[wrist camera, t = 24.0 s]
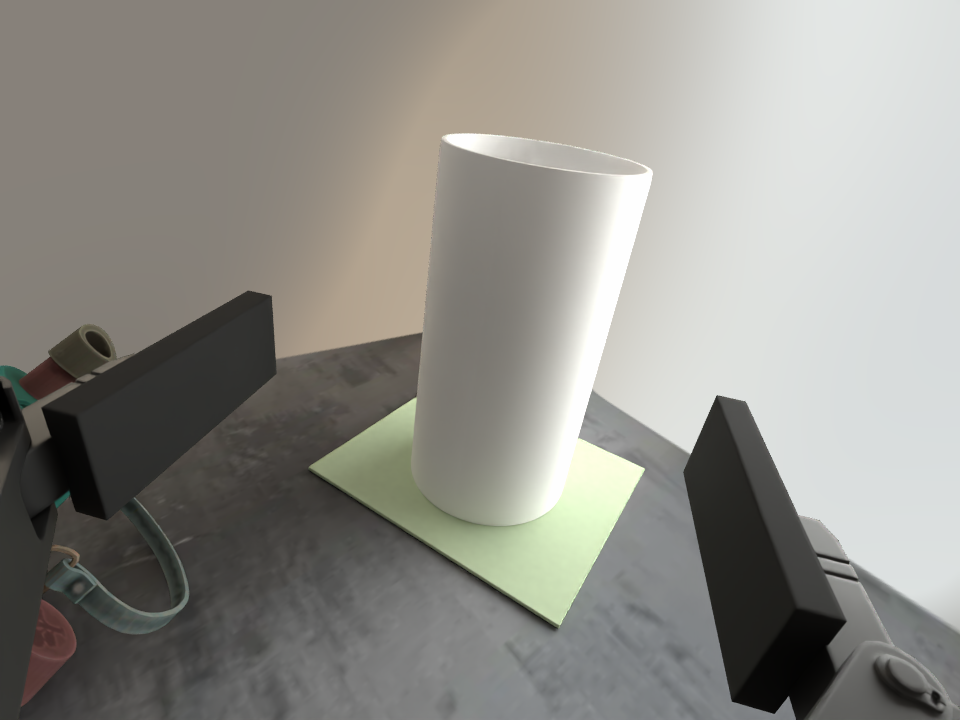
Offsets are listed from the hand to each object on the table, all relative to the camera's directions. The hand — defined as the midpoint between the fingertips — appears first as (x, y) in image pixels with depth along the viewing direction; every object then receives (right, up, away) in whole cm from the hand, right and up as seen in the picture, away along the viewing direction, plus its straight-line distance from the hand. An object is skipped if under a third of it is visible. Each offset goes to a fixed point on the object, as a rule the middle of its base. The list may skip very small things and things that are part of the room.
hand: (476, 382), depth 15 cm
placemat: (+1, -5, +13) cm, 14 cm away
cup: (+1, -5, +13) cm, 14 cm away
